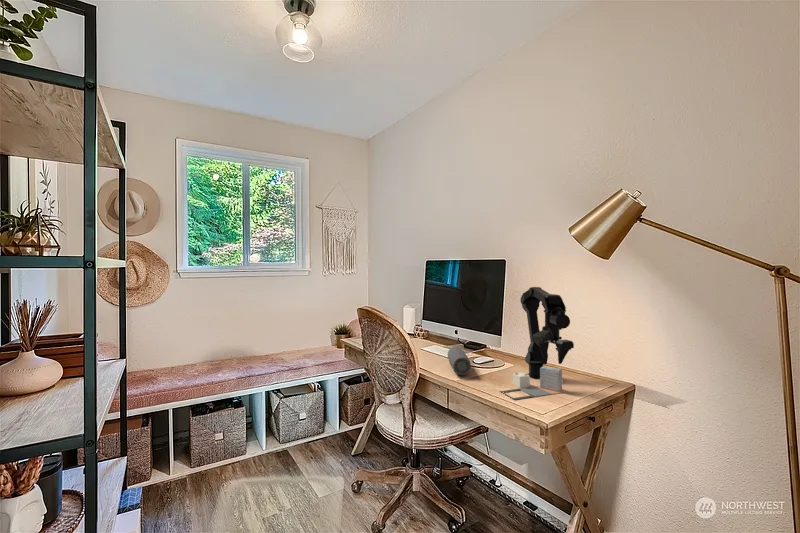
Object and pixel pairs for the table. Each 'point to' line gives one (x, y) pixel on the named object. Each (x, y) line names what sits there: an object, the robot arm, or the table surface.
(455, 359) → the bluetooth speaker
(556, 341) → the robot arm
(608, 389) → the table surface
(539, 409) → the table surface
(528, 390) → the game mat
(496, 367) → the table surface
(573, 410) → the table surface
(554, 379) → the medicine box
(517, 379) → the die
